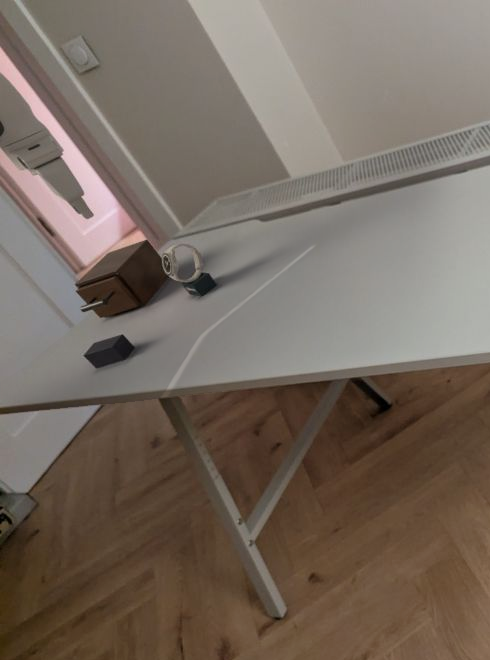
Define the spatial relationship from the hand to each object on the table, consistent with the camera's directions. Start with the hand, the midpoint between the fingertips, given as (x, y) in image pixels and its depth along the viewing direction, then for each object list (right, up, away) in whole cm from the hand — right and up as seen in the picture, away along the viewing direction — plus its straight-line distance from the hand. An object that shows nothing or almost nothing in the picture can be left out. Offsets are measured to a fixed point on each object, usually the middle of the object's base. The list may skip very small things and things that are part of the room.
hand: (86, 215), depth 114 cm
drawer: (+1, -17, +12) cm, 21 cm away
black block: (+11, -30, -7) cm, 33 cm away
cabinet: (+1, -15, +16) cm, 22 cm away
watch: (+22, -15, +5) cm, 28 cm away
